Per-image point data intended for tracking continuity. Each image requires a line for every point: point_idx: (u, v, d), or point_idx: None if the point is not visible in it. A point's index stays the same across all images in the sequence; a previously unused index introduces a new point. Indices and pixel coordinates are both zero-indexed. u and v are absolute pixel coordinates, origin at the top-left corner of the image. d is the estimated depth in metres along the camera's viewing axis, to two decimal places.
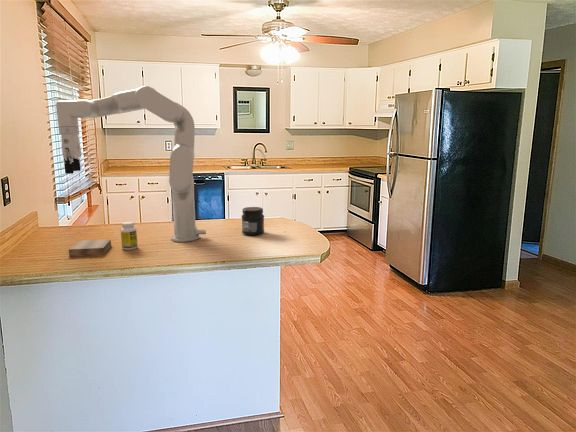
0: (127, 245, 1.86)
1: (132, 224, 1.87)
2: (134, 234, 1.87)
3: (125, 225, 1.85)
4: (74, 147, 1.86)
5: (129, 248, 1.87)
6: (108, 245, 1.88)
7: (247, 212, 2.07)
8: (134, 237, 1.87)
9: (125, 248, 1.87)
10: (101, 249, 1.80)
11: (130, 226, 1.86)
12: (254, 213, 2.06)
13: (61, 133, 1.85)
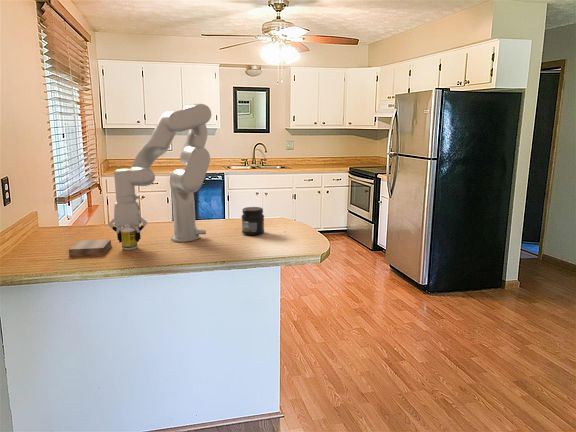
0: (127, 245, 1.86)
1: None
2: (134, 234, 1.87)
3: (125, 225, 1.85)
4: None
5: (129, 248, 1.87)
6: (108, 245, 1.88)
7: (247, 212, 2.07)
8: (134, 237, 1.87)
9: (125, 248, 1.87)
10: (101, 249, 1.80)
11: (130, 226, 1.86)
12: (254, 213, 2.06)
13: (132, 202, 1.84)
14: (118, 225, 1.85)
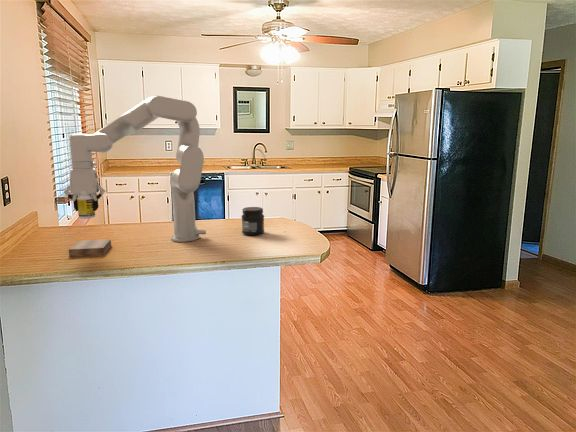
0: (83, 213, 1.79)
1: None
2: (91, 202, 1.80)
3: (81, 192, 1.78)
4: None
5: (85, 217, 1.80)
6: (108, 245, 1.88)
7: (247, 212, 2.07)
8: (91, 206, 1.80)
9: (81, 217, 1.80)
10: (101, 249, 1.80)
11: None
12: (254, 213, 2.06)
13: (89, 168, 1.77)
14: (74, 192, 1.78)
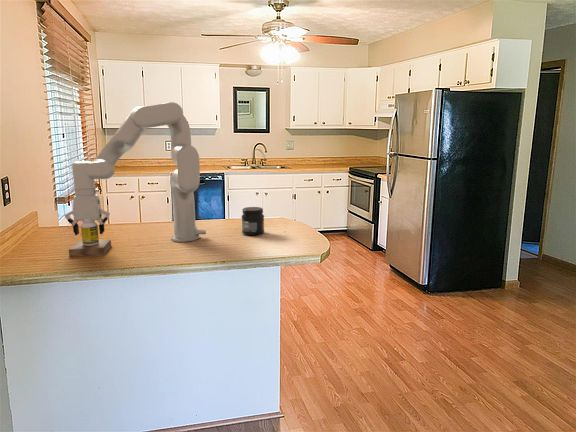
0: (87, 240, 1.82)
1: None
2: (95, 229, 1.83)
3: (85, 220, 1.81)
4: None
5: (89, 244, 1.82)
6: (108, 245, 1.88)
7: (247, 212, 2.07)
8: (94, 233, 1.83)
9: (85, 244, 1.82)
10: (101, 249, 1.80)
11: (90, 221, 1.81)
12: (254, 213, 2.06)
13: (92, 195, 1.79)
14: (77, 219, 1.80)
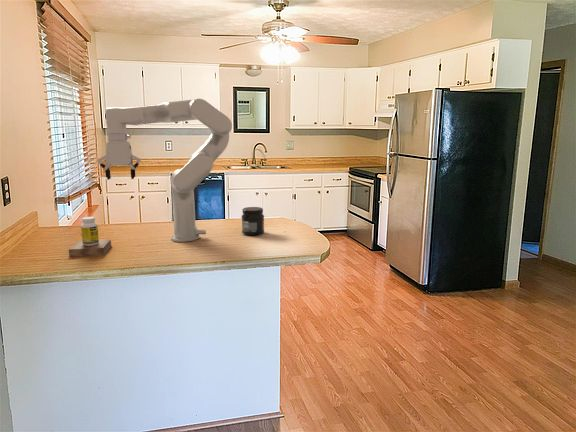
0: (87, 240, 1.82)
1: (92, 219, 1.82)
2: (95, 229, 1.83)
3: (85, 220, 1.81)
4: None
5: (89, 244, 1.82)
6: (108, 245, 1.88)
7: (247, 212, 2.07)
8: (94, 233, 1.83)
9: (85, 244, 1.82)
10: (101, 249, 1.80)
11: (90, 221, 1.81)
12: (254, 213, 2.06)
13: (124, 140, 1.86)
14: (110, 163, 1.87)
